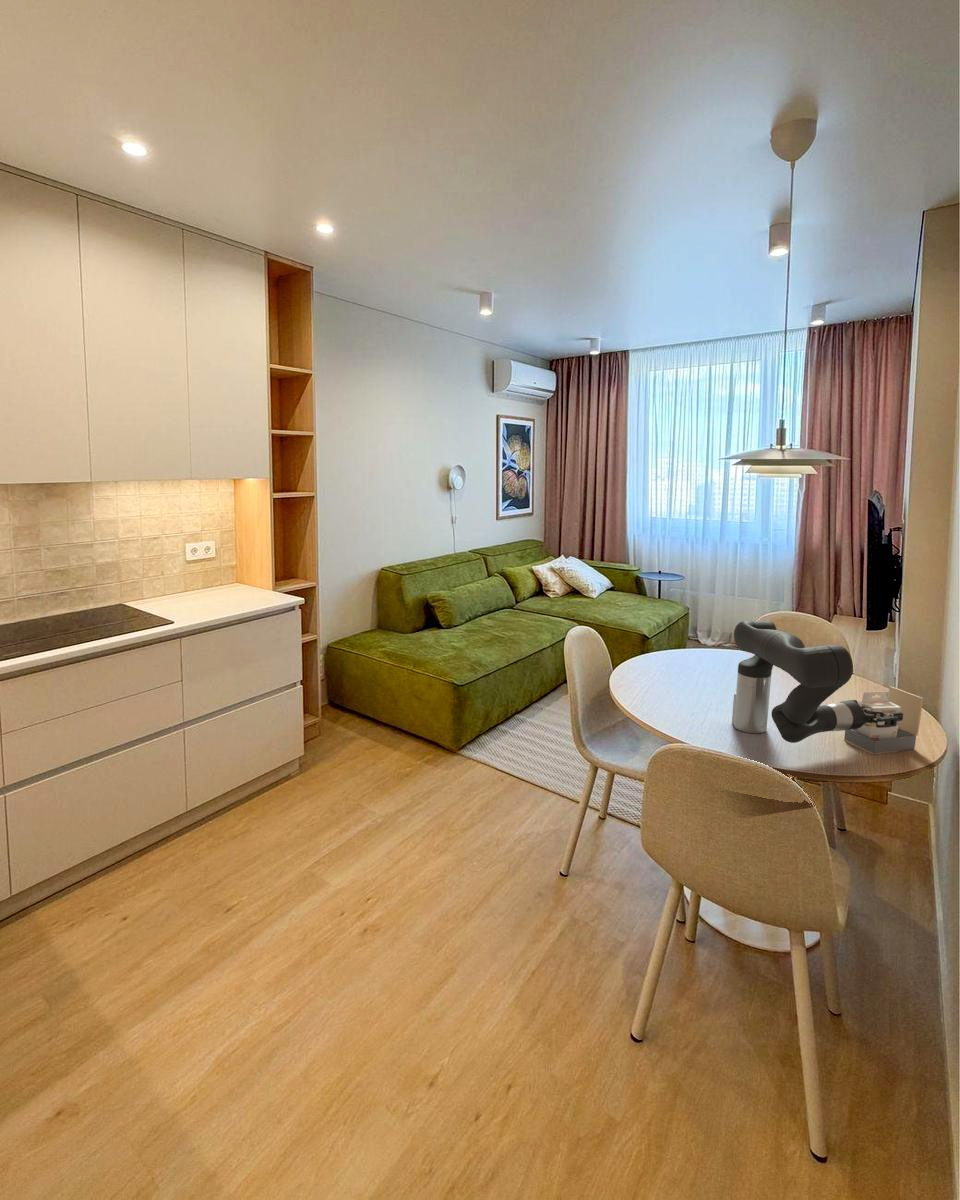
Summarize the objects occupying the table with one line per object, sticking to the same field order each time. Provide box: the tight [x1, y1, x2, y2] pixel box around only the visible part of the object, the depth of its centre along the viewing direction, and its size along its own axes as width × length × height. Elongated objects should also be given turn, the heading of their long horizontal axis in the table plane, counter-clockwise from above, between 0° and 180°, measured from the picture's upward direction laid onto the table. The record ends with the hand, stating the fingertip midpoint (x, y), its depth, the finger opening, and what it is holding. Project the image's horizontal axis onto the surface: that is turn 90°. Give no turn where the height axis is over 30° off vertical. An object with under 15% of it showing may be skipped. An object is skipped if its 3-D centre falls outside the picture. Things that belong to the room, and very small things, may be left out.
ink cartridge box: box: [857, 690, 901, 740], centre depth 175 cm, size 9×5×15 cm, turn 96°
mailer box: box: [843, 686, 924, 756], centre depth 176 cm, size 10×15×15 cm
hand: (888, 710), depth 175 cm, fingers open, 8 cm apart
